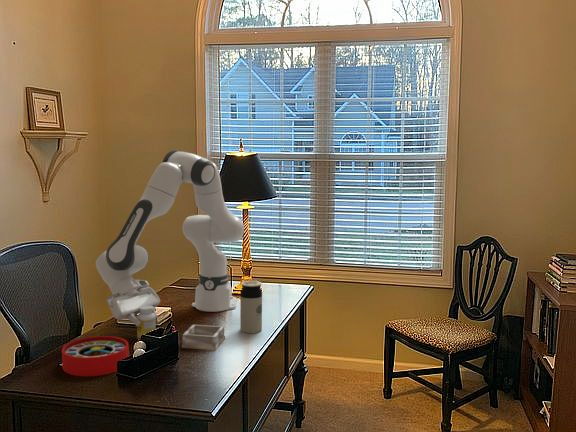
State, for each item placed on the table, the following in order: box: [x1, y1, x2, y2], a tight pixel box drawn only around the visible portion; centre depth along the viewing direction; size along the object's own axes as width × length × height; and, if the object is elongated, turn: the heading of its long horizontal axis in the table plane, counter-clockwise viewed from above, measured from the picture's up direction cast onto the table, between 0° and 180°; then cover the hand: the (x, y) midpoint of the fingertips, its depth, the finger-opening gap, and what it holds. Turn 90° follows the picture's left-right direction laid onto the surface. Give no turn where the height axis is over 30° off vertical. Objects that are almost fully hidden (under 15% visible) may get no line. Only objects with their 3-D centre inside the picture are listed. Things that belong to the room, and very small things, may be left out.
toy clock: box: [61, 335, 130, 377], centre depth 188 cm, size 20×6×20 cm
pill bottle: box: [136, 305, 157, 341], centre depth 211 cm, size 6×6×12 cm
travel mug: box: [239, 280, 263, 334], centre depth 222 cm, size 8×8×18 cm
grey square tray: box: [181, 324, 226, 351], centre depth 208 cm, size 12×12×4 cm
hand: (147, 321), depth 211 cm, fingers closed on pill bottle, 6 cm apart
